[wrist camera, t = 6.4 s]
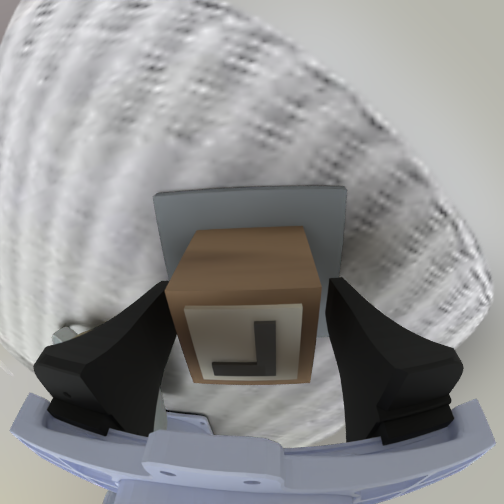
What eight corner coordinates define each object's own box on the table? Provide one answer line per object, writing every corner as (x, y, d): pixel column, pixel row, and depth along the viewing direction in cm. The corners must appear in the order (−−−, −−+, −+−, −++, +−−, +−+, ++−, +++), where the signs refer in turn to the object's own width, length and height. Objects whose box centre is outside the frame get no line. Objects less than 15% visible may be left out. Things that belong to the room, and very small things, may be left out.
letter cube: (300, 310, 15) (310, 389, 10) (210, 312, 15) (192, 389, 11) (302, 225, 13) (323, 294, 8) (196, 229, 13) (161, 297, 8)
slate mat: (328, 330, 17) (329, 336, 16) (186, 331, 17) (184, 338, 17) (343, 186, 12) (346, 189, 12) (156, 193, 13) (152, 196, 12)
